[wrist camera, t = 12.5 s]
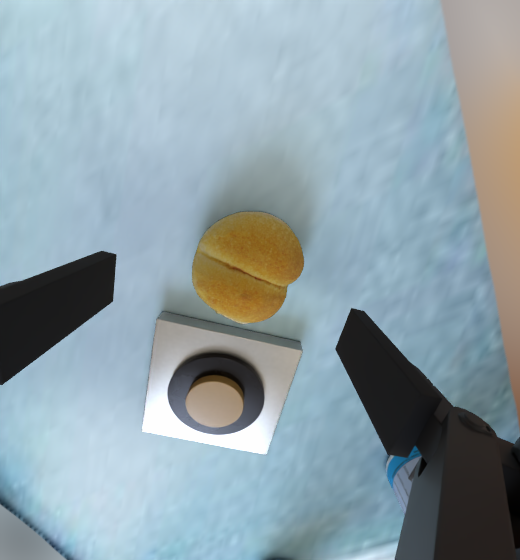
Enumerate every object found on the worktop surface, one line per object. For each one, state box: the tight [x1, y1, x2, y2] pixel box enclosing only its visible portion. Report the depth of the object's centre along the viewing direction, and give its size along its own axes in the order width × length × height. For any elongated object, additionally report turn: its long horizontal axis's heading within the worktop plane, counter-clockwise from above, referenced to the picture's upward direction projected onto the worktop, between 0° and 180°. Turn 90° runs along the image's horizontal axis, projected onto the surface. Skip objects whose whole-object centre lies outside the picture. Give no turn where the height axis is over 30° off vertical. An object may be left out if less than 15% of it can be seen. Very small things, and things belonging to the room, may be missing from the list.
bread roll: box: [192, 212, 304, 324], centre depth 20 cm, size 8×9×4 cm
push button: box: [142, 312, 303, 455], centre depth 25 cm, size 13×13×3 cm
